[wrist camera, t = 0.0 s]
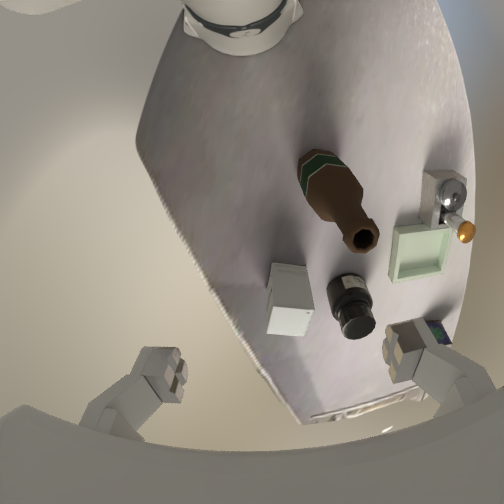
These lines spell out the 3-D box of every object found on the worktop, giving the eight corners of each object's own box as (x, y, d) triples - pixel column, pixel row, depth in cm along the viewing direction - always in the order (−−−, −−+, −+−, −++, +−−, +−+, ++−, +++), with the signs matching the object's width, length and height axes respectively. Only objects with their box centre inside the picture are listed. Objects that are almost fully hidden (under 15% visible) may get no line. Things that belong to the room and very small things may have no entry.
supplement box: (271, 261, 55) (272, 305, 44) (307, 265, 55) (316, 309, 44) (265, 289, 59) (265, 334, 48) (298, 293, 59) (305, 337, 48)
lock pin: (429, 197, 45) (462, 224, 35) (443, 196, 45) (477, 222, 34) (427, 214, 47) (458, 244, 37) (441, 213, 47) (473, 242, 36)
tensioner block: (422, 169, 42) (443, 182, 36) (452, 169, 41) (474, 182, 35) (419, 217, 48) (436, 235, 41) (447, 214, 47) (466, 231, 41)
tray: (393, 227, 49) (399, 234, 47) (446, 221, 48) (453, 227, 45) (387, 274, 56) (392, 283, 53) (437, 266, 54) (443, 273, 51)
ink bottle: (372, 287, 58) (389, 325, 47) (343, 309, 61) (354, 349, 51) (348, 263, 54) (364, 303, 44) (317, 288, 58) (326, 330, 48)
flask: (441, 319, 64) (457, 348, 54) (436, 327, 66) (450, 356, 56) (418, 319, 64) (432, 351, 54) (413, 327, 65) (426, 358, 56)
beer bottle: (334, 142, 41) (397, 192, 21) (344, 184, 45) (401, 261, 25) (289, 154, 43) (315, 214, 23) (302, 195, 47) (331, 282, 27)
